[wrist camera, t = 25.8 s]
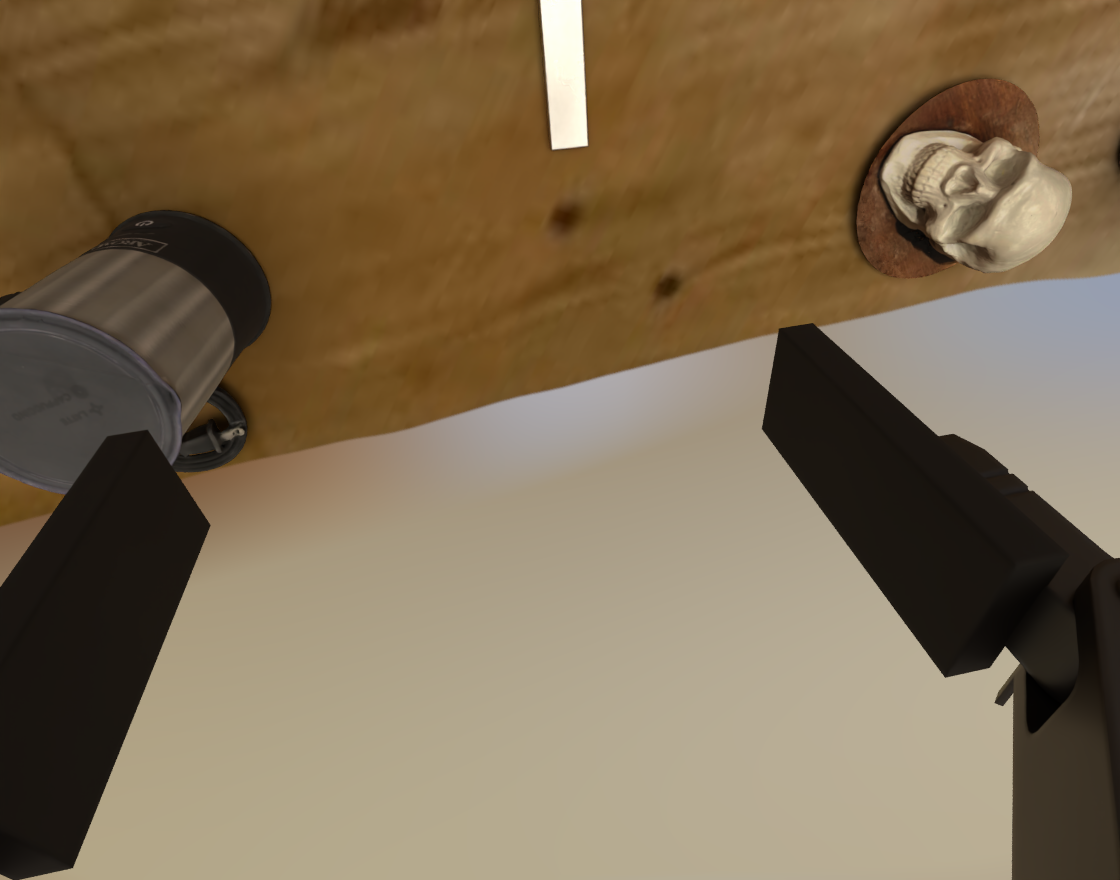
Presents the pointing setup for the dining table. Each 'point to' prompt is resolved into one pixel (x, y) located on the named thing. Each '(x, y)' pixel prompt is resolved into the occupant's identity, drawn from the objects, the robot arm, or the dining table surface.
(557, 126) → the fork
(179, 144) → the dining table surface
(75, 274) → the milk frother
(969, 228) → the skull
